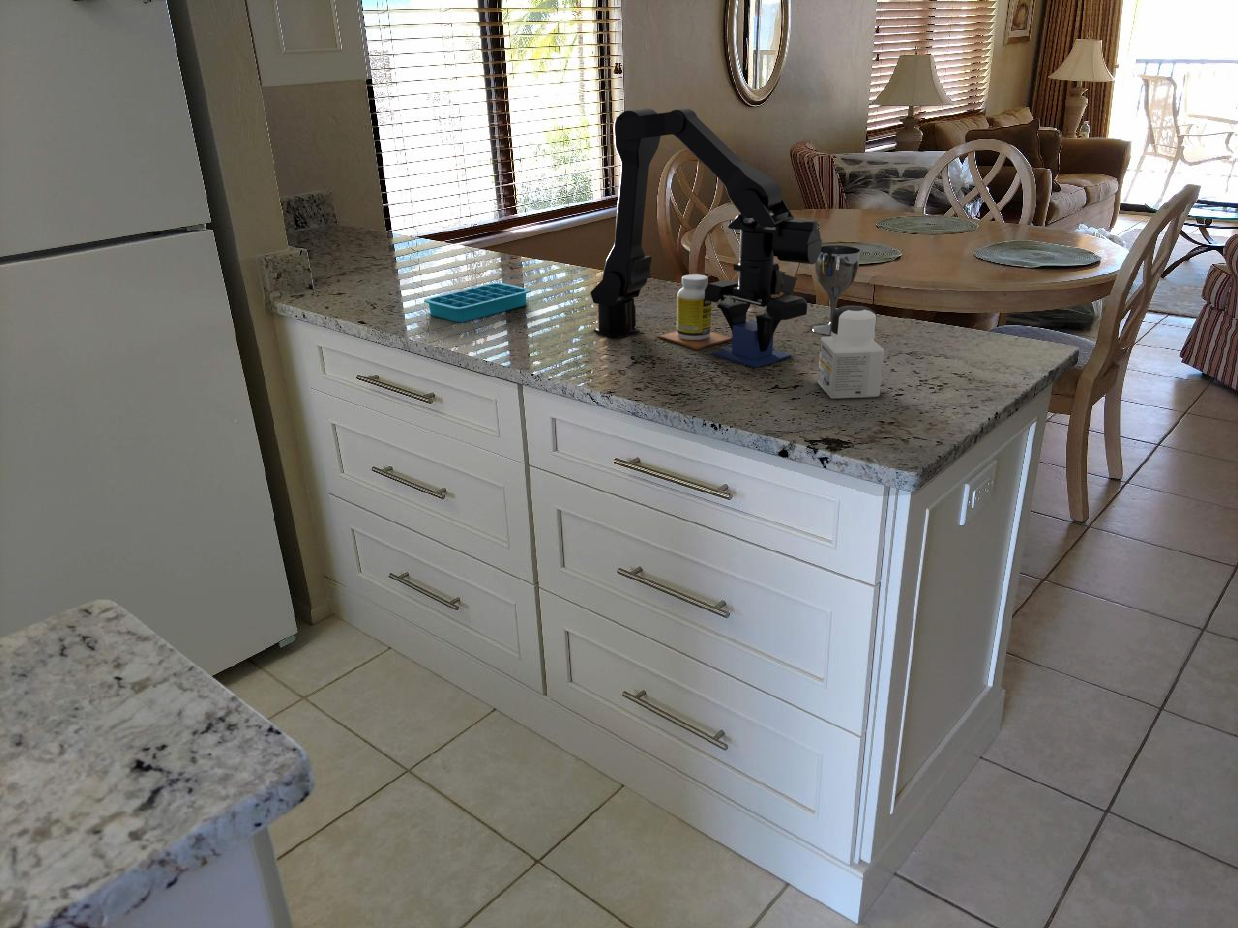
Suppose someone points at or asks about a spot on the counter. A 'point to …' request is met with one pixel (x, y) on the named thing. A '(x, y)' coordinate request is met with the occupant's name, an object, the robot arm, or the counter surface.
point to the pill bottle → (693, 308)
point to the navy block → (748, 341)
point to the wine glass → (835, 275)
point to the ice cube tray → (477, 301)
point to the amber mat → (696, 344)
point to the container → (851, 355)
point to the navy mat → (755, 362)
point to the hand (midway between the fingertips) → (752, 348)
